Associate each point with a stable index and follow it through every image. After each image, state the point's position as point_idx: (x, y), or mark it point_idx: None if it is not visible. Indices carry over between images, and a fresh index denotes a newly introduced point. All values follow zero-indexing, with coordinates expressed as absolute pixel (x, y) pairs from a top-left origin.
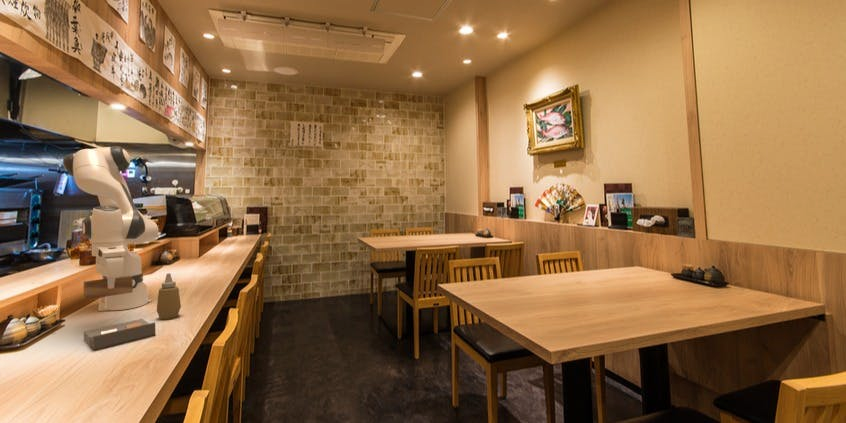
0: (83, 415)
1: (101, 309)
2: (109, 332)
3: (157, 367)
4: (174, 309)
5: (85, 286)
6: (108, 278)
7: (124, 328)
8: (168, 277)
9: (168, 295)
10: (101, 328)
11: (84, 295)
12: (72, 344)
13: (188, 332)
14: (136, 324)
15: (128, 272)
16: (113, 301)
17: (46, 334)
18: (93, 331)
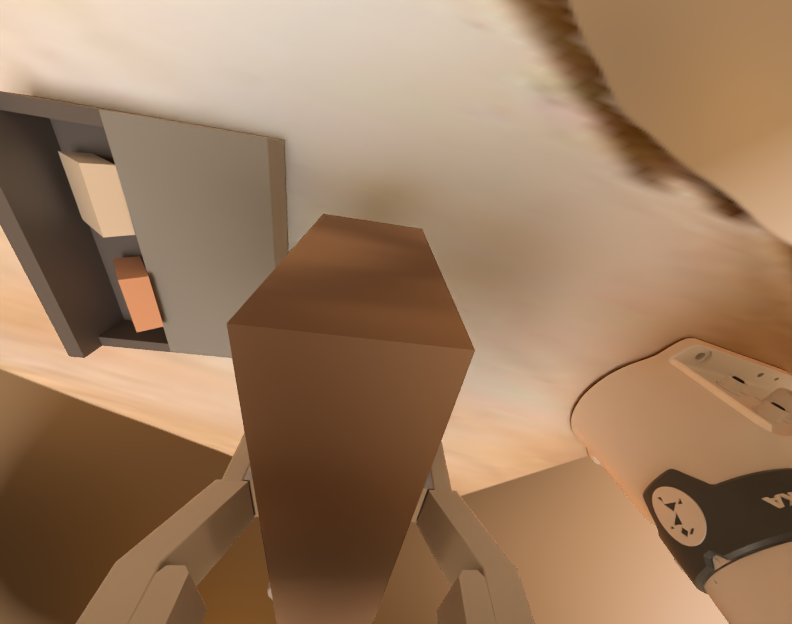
0: None
1: (681, 347)
2: (85, 198)
3: None
4: None
5: (277, 277)
6: (98, 599)
7: (163, 273)
8: None
9: None
10: (251, 214)
11: (386, 234)
12: (248, 73)
13: (83, 386)
14: (130, 313)
15: (756, 600)
16: (663, 396)
17: (582, 58)
18: (219, 169)
